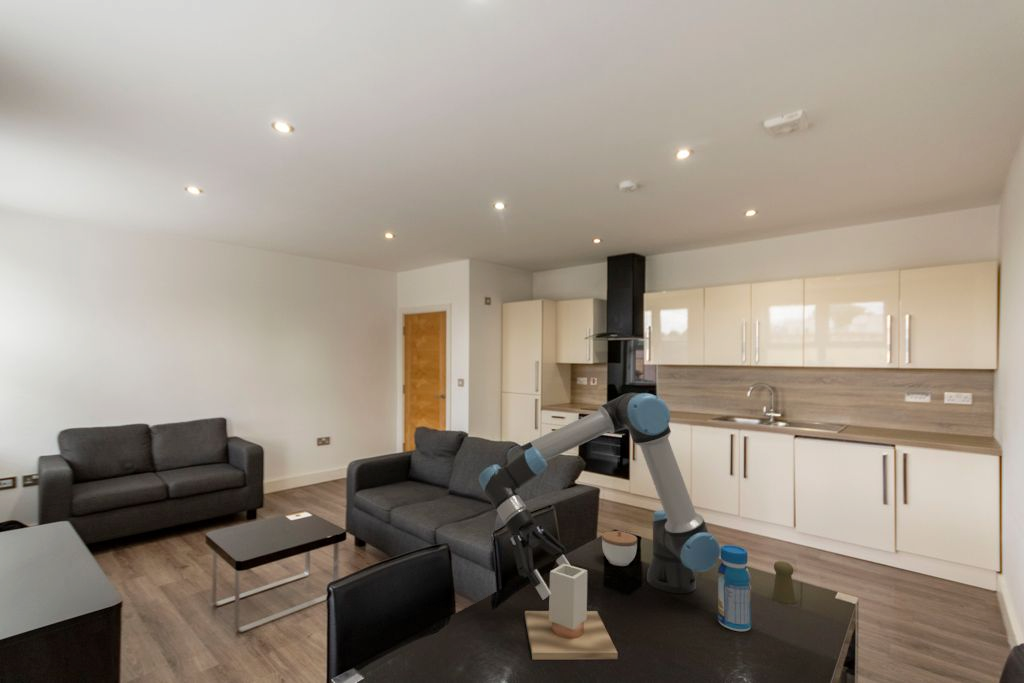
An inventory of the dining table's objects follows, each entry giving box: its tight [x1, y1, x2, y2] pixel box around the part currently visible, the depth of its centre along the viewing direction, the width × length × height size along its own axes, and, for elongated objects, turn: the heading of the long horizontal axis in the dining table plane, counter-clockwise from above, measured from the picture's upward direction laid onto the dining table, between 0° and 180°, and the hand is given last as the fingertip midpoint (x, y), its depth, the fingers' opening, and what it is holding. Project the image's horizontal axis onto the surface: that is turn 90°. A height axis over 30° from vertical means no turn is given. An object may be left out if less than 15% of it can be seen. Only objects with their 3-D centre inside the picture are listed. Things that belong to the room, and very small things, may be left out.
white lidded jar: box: [601, 530, 638, 567], centre depth 171 cm, size 13×13×11 cm
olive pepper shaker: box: [772, 560, 796, 605], centre depth 145 cm, size 6×6×11 cm
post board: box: [524, 610, 619, 661], centre depth 120 cm, size 20×20×13 cm
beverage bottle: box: [716, 544, 752, 632], centre depth 129 cm, size 8×8×20 cm
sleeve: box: [548, 564, 588, 630], centre depth 121 cm, size 7×7×12 cm
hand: (561, 587), depth 121 cm, fingers open, 13 cm apart
